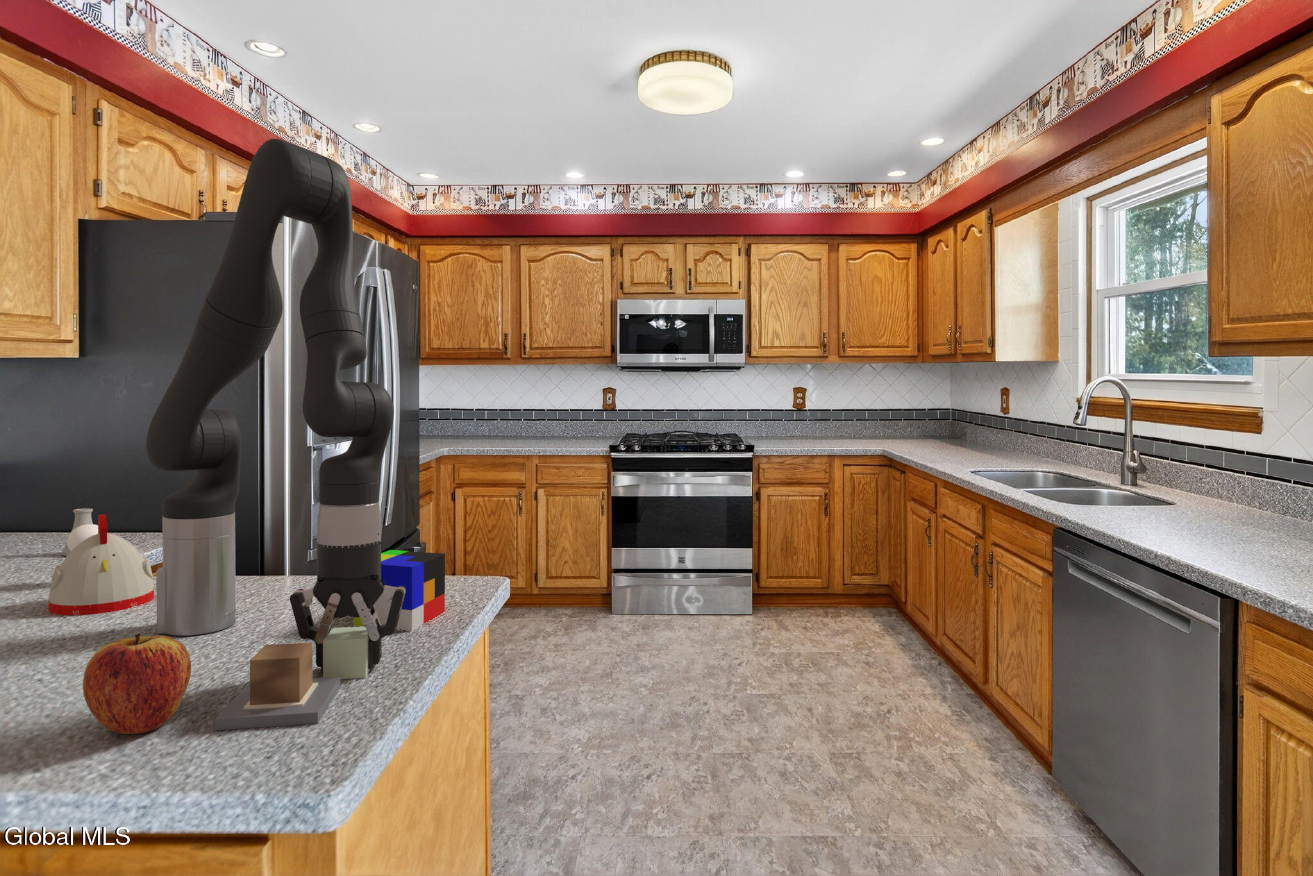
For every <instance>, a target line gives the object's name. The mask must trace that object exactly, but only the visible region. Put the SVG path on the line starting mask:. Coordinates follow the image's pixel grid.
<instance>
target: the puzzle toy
mask: <svg viewBox="0 0 1313 876" xmlns="http://www.w3.org/2000/svg"><path fill="white" fill-rule="evenodd" d="M381 577H382V579H383V581H384V583H385V585H387V586H392V587H397V588H398V587H399V586H404V587H405V588H406V593H405V597H404V601H403V605H402V609H401V613H400V616H399V620H398V624H397V627H396V629H399V630H398V631H403V630H407V631H406V632H414V631H415V630H417V629H419V628H420V627H422V626H423V625H422V624H424V623H426V622H427V623H429V622H430V621H429V620H431V621H432V619H433V618H434V619H436V618H438V617H439V616H438V615H440V614H441V613H443V612H445V611H446V610H445V608H446V603H445V601H446V598H445V597H446V553H444V552H443V553H441V552H428V551H413V550H398V549H397V550H396V549H390V550H387V551H384V552H381ZM374 606H375V608H376V611H377V613H378V619H379V621H380V624H381V625H384V624H386V622H387V618H388V614H389V610H390V607H391V604H388V603H387V601H386V596H385V595H384V594H382V595H381V596H380V597H379V599H378V600H377V601H376V602H375V604H374ZM445 613H446V612H445ZM443 614H444V613H443ZM441 615H442V614H441ZM441 615H440V616H441ZM365 616H366V615H365ZM437 616H438V617H437ZM435 617H436V618H435ZM434 619H433V620H434ZM428 621H429V622H428ZM427 623H426V624H427ZM421 625H422V626H421ZM424 625H425V624H424ZM360 626H364V625H363V623H362V621H361V618H360V617H353V627H360ZM419 626H420V627H419ZM364 627H365V626H364ZM418 627H419V628H418ZM416 628H417V629H416ZM400 629H401V630H400ZM414 629H415V630H414Z"/></svg>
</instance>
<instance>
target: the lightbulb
mask: <svg viewBox="0 0 1313 876" xmlns="http://www.w3.org/2000/svg"><path fill="white" fill-rule="evenodd" d="M71 531H72V530H71ZM71 531H70V533H69V534H68V537H67V540H66V543H67V546H68V548H69V550H70V551H72V550H73V549H74V548H75V547H76V546H77V545H78V544H80V543H81V542H82V541H84V540H85V539H87V538H89V537H91V536H93V535H96V534H98V524H94V523H93V524H86V525H82V526H79V527H77V528H76V529H74V530H73V531H72V532H71Z"/></svg>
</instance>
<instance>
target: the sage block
mask: <svg viewBox="0 0 1313 876" xmlns="http://www.w3.org/2000/svg"><path fill="white" fill-rule="evenodd" d="M369 640H370V637H369V635H368V632H367V630H366V628H365V627H360V626H353V627H352V626H348V627H332V629H331V632H330V633H329V634H328V635H327V637H326V638H325V639H324V640H323V672H322V673H323V674H322V678H328V677H340V680H349V679H352V680H353V679H366V678H367V676H368V675H369V673H370V671H371V669H368V641H369Z"/></svg>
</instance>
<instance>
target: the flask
mask: <svg viewBox="0 0 1313 876" xmlns="http://www.w3.org/2000/svg"><path fill="white" fill-rule="evenodd" d="M93 510H94V509H93V508H76V509H73V510H72V512H73V513H74V521H73V527H72V529H71V531H70V533H71V532H72V531H73V530H74V529H76V528H77V527H79V526H82V525H86V524H94V523H93V519H92V512H94V511H93ZM70 552H71V551H70V550H69V548H68V546H67V542H65V545H64V547H63V549H62V551H61V554H60V556H64V557H67V556H68V554H69V553H70Z"/></svg>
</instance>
